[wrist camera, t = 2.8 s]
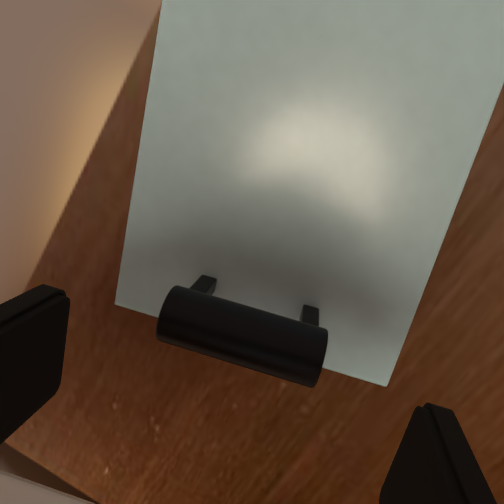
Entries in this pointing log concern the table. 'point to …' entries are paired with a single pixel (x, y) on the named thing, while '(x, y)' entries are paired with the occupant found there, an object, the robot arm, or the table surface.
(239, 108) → the lid
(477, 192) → the table surface
